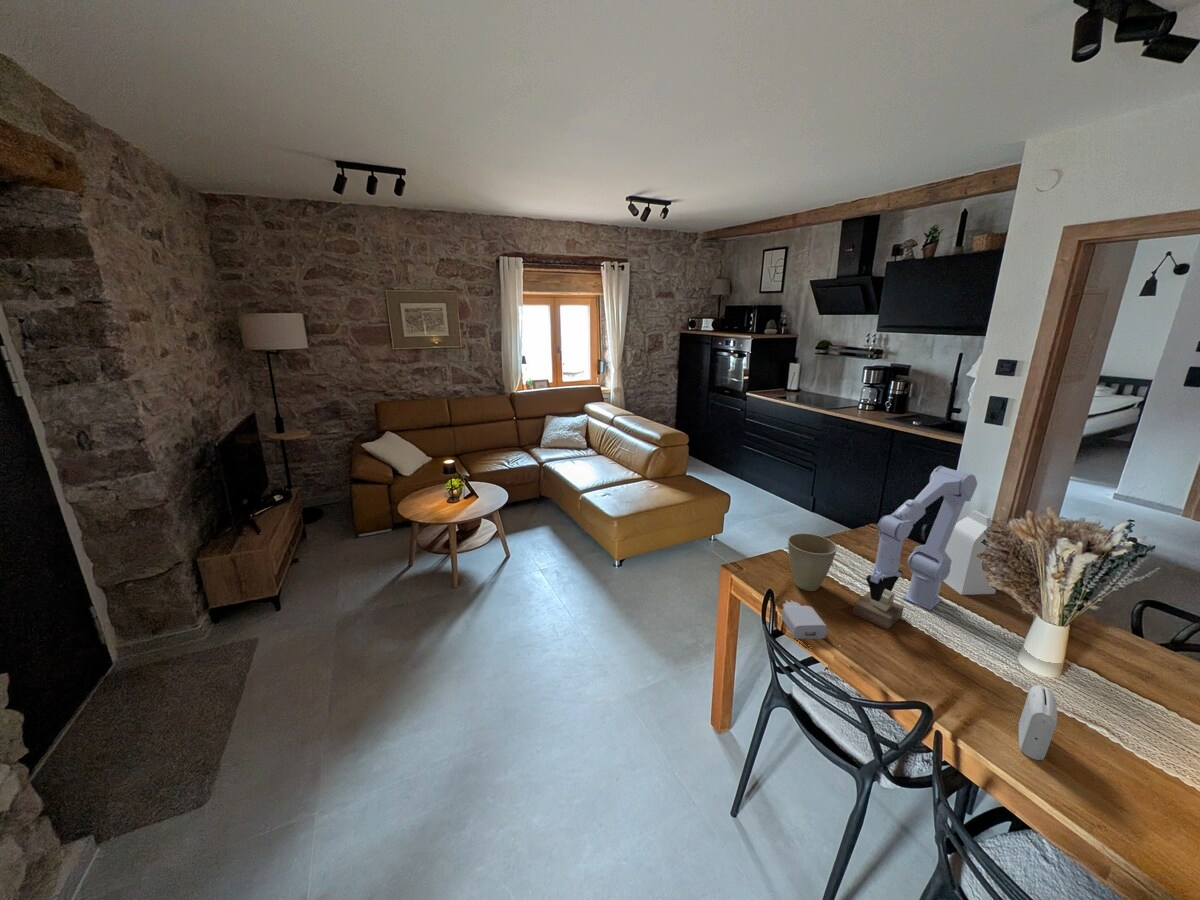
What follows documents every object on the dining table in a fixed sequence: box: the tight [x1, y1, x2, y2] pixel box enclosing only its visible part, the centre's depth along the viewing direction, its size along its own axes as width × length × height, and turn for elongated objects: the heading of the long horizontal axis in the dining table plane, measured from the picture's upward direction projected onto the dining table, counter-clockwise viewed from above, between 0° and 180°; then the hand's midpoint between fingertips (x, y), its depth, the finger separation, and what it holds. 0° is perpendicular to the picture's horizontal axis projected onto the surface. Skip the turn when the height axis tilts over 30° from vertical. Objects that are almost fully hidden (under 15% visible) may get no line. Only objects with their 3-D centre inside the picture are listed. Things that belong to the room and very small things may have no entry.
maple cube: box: [870, 589, 895, 611], centre depth 140 cm, size 4×4×4 cm
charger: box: [781, 599, 828, 640], centre depth 138 cm, size 5×9×15 cm
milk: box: [942, 509, 997, 596], centre depth 154 cm, size 12×12×26 cm
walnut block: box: [851, 590, 904, 630], centre depth 141 cm, size 10×10×4 cm
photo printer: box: [1018, 684, 1058, 761], centre depth 98 cm, size 10×4×12 cm, turn 140°
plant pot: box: [787, 532, 838, 592], centre depth 155 cm, size 15×15×16 cm
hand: (881, 595), depth 140 cm, fingers open, 7 cm apart
